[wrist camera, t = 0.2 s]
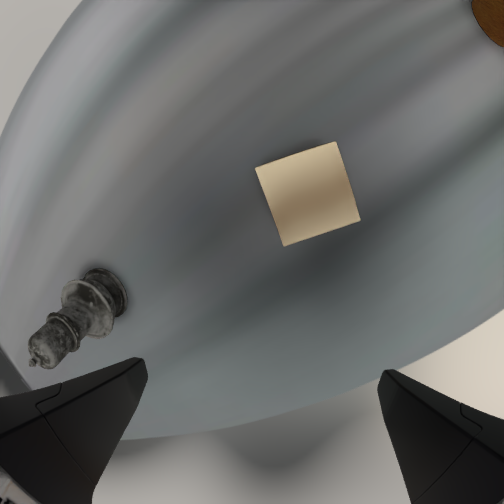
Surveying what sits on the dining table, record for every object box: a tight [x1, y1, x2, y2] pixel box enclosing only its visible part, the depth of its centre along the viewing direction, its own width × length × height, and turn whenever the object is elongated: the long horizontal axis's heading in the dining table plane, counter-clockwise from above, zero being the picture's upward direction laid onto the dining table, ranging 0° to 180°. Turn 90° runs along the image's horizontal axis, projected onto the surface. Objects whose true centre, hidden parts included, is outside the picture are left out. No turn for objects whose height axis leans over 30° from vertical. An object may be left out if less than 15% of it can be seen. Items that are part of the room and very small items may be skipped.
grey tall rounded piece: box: [28, 269, 127, 369], centre depth 20 cm, size 6×6×12 cm
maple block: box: [255, 141, 361, 246], centre depth 19 cm, size 5×5×5 cm
